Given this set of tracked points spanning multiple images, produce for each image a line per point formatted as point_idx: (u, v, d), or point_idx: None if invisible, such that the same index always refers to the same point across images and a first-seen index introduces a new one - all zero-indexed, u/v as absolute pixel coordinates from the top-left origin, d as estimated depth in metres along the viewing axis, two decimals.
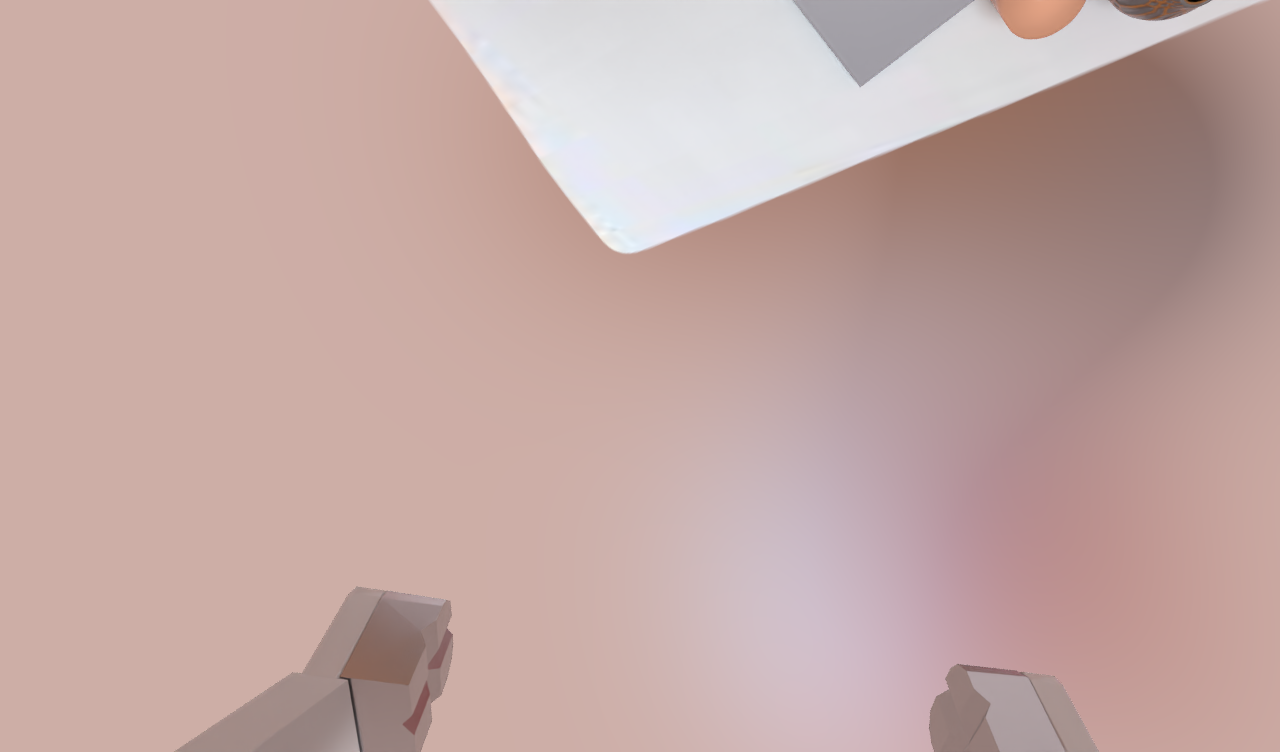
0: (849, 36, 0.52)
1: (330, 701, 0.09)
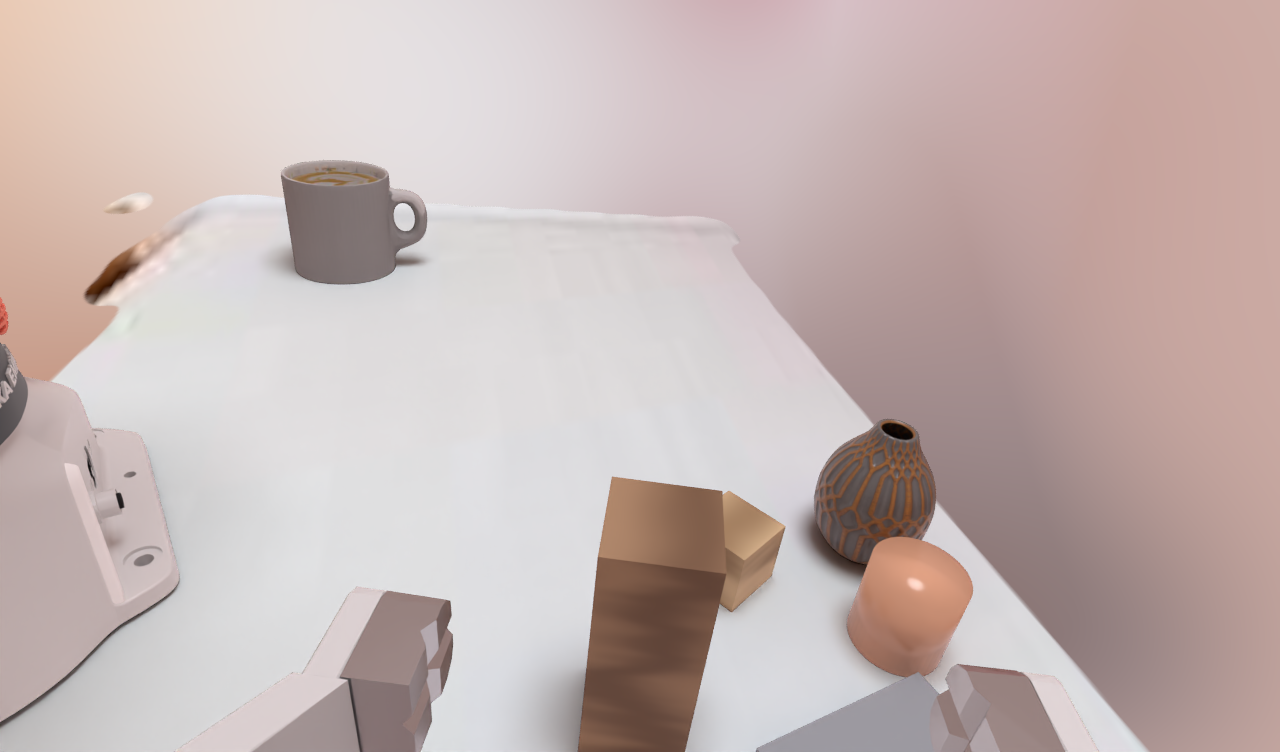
0: None
1: (330, 701, 0.09)
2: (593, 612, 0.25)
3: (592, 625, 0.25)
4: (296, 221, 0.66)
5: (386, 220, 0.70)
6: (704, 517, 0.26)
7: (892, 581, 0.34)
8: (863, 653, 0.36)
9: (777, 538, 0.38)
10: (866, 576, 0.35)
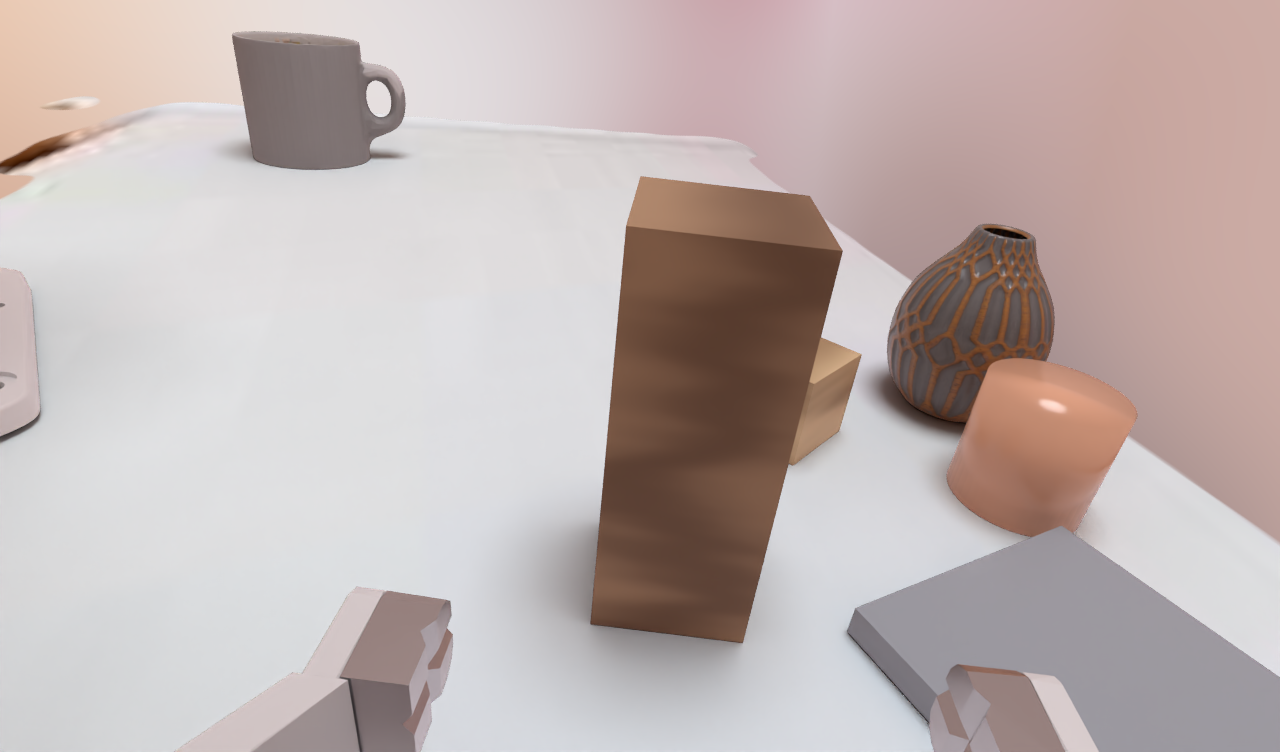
0: None
1: (330, 701, 0.09)
2: (617, 346, 0.15)
3: (615, 372, 0.16)
4: (250, 91, 0.57)
5: (357, 97, 0.60)
6: (789, 210, 0.16)
7: (1024, 398, 0.24)
8: (977, 511, 0.26)
9: (851, 369, 0.28)
10: (980, 403, 0.26)
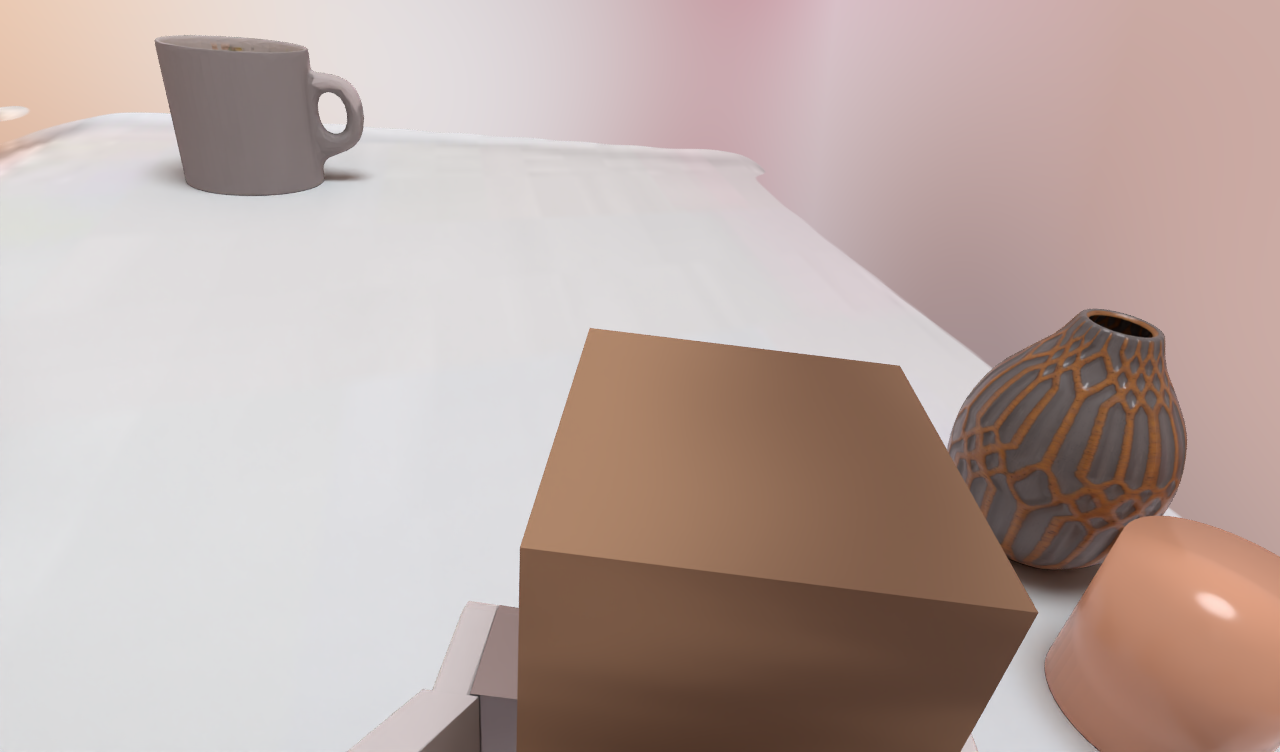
0: None
1: (463, 718, 0.09)
2: (520, 741, 0.07)
3: None
4: (177, 106, 0.49)
5: (305, 111, 0.52)
6: (874, 425, 0.08)
7: (1192, 606, 0.16)
8: (1102, 747, 0.18)
9: None
10: (1112, 595, 0.18)
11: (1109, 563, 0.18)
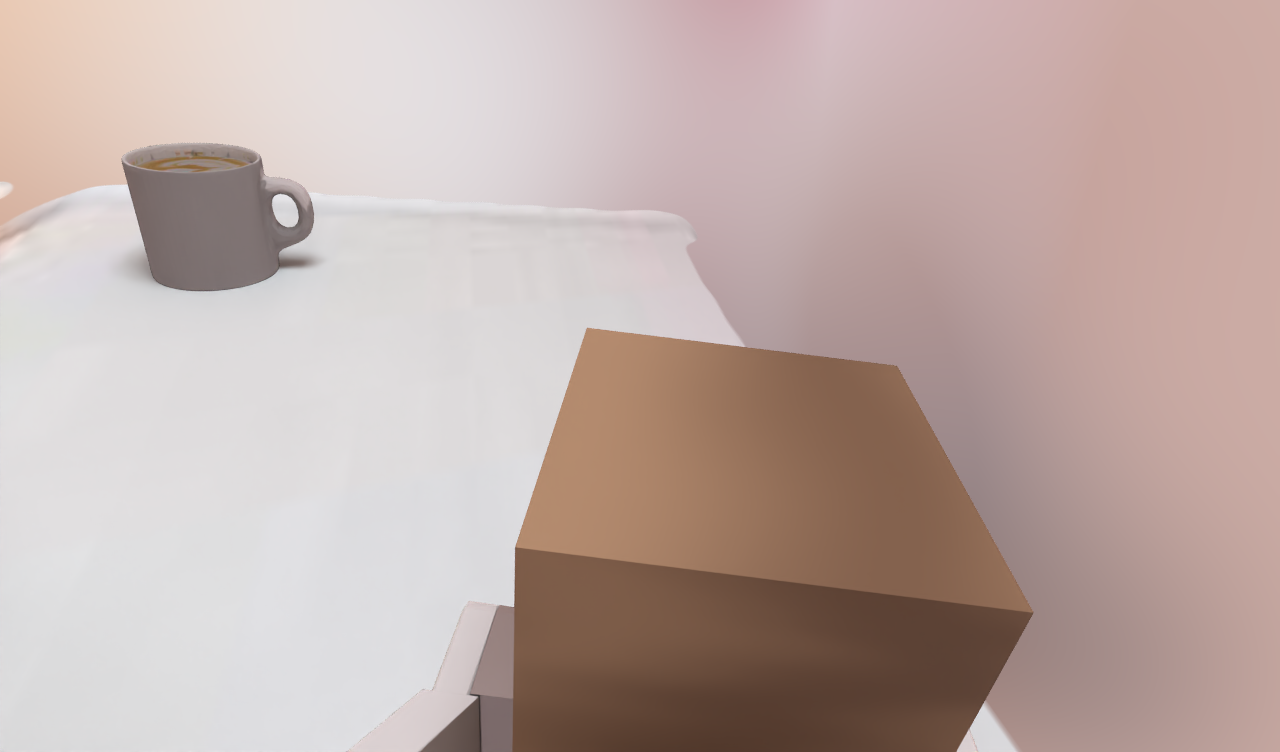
0: None
1: (462, 718, 0.09)
2: (516, 741, 0.07)
3: None
4: (142, 216, 0.55)
5: (258, 214, 0.58)
6: (872, 425, 0.08)
7: None
8: None
9: None
10: None
11: None
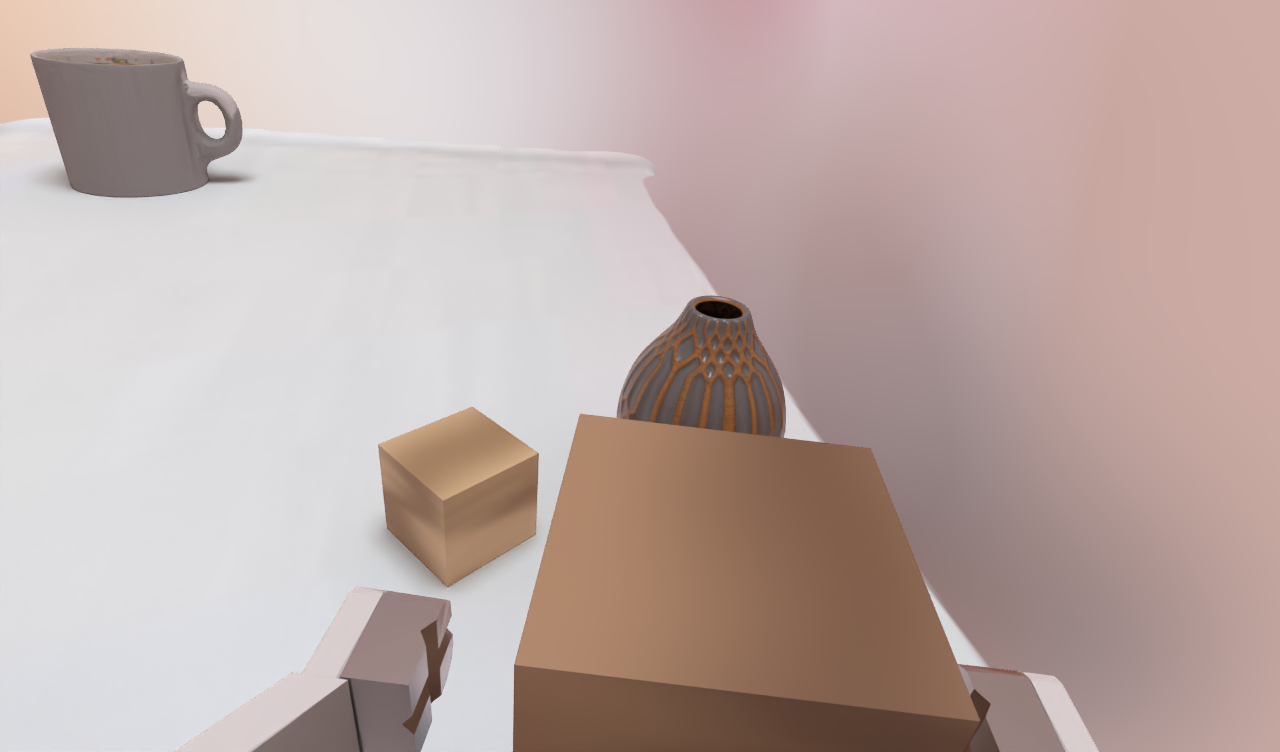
0: None
1: (330, 701, 0.09)
2: None
3: None
4: (53, 114, 0.53)
5: (179, 119, 0.56)
6: (844, 518, 0.09)
7: None
8: None
9: (524, 471, 0.24)
10: None
11: None
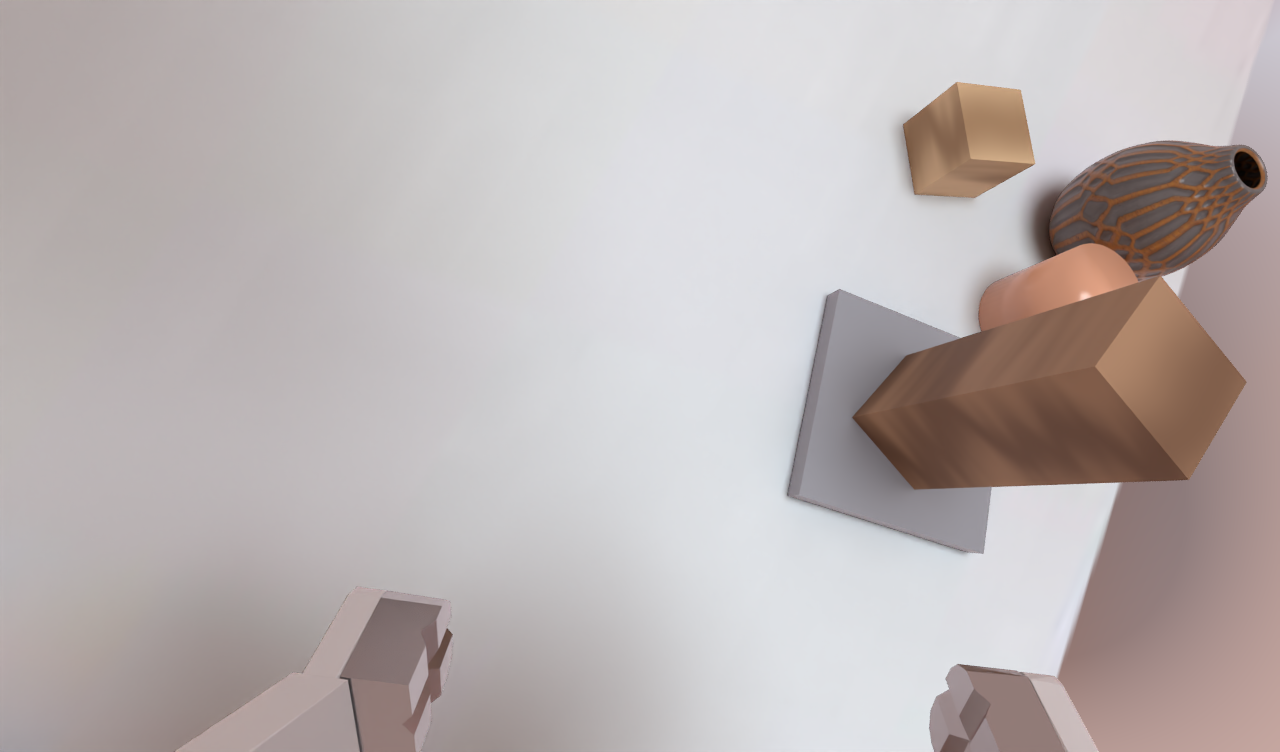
0: (919, 498, 0.31)
1: (330, 701, 0.09)
2: (1017, 383, 0.22)
3: (1000, 387, 0.23)
4: None
5: None
6: (1210, 399, 0.21)
7: (1069, 283, 0.31)
8: (981, 317, 0.35)
9: (1016, 167, 0.34)
10: (1048, 263, 0.32)
11: (1064, 252, 0.32)
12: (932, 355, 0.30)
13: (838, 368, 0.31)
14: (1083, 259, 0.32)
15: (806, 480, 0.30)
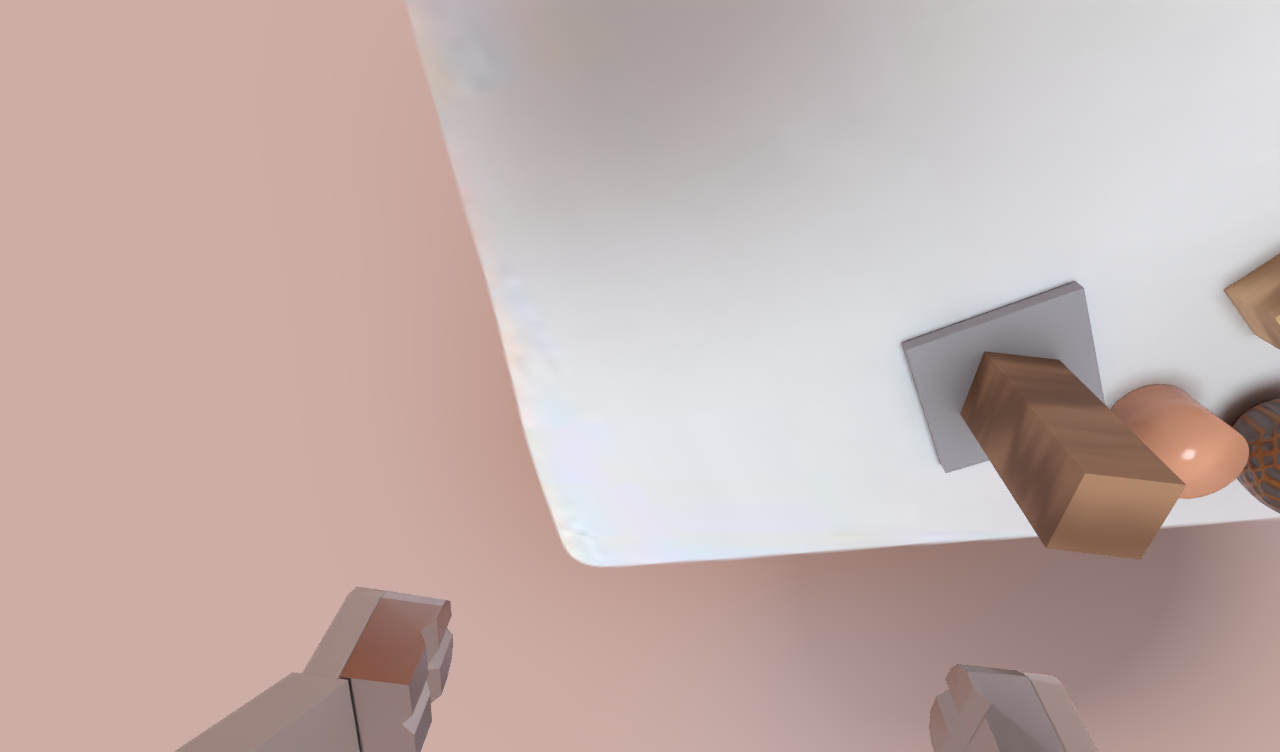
0: (955, 419, 0.43)
1: (330, 701, 0.09)
2: (1055, 438, 0.33)
3: (1048, 430, 0.33)
4: None
5: None
6: (1110, 543, 0.32)
7: (1188, 439, 0.38)
8: (1130, 393, 0.42)
9: None
10: (1203, 416, 0.39)
11: (1221, 422, 0.38)
12: (1065, 377, 0.38)
13: (1015, 323, 0.40)
14: (1221, 437, 0.38)
15: (919, 348, 0.41)
